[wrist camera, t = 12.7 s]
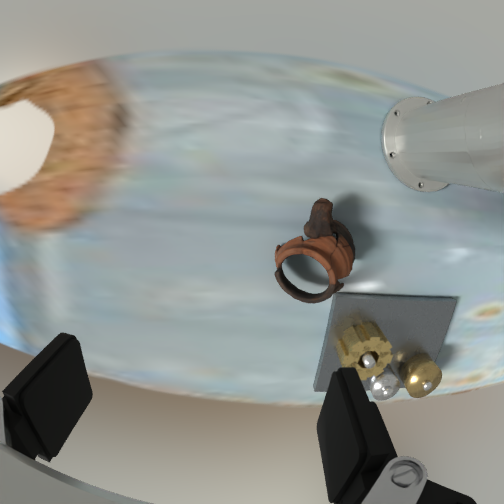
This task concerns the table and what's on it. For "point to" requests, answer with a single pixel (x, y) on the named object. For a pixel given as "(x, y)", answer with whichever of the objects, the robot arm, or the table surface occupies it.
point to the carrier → (390, 340)
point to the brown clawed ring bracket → (319, 252)
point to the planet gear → (364, 349)
